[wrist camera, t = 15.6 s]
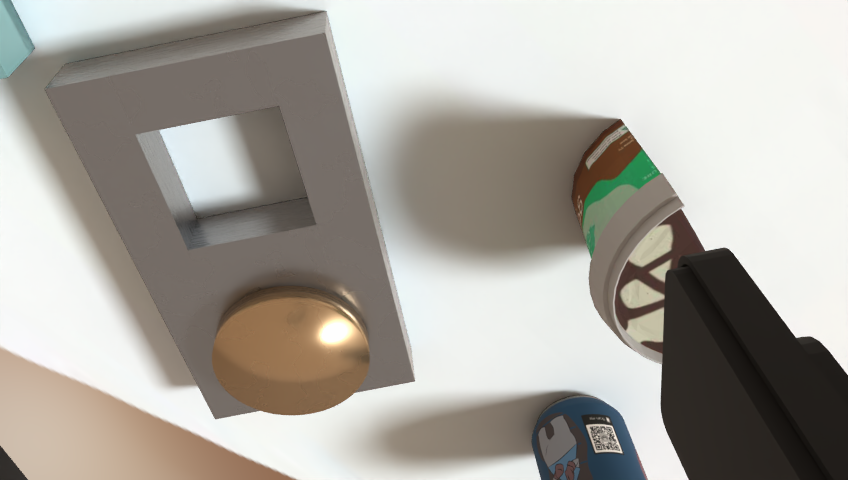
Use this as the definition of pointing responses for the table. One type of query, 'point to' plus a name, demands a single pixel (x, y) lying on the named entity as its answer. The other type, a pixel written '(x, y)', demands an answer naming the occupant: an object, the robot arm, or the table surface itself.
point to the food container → (630, 236)
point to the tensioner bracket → (247, 217)
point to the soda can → (584, 442)
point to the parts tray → (12, 40)
